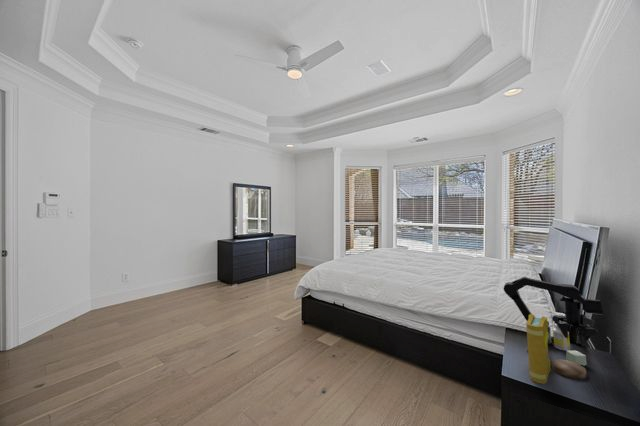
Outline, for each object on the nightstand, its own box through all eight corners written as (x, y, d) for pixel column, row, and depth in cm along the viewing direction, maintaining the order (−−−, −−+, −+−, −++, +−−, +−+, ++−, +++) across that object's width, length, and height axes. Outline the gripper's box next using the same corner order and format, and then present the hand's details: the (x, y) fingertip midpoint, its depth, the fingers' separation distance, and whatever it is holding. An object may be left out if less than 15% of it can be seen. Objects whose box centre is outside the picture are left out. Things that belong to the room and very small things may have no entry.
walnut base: (567, 379, 117) (566, 373, 118) (545, 364, 129) (544, 359, 130) (594, 378, 117) (594, 373, 117) (570, 364, 129) (569, 359, 129)
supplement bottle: (566, 346, 147) (564, 323, 147) (573, 351, 140) (571, 327, 141) (551, 344, 149) (549, 322, 149) (557, 350, 143) (556, 326, 143)
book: (532, 364, 130) (529, 314, 131) (550, 369, 125) (547, 317, 126) (527, 379, 118) (524, 324, 119) (547, 385, 113) (543, 328, 114)
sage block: (575, 366, 127) (575, 355, 128) (566, 360, 132) (566, 350, 133) (586, 365, 127) (585, 355, 127) (576, 360, 132) (576, 350, 132)
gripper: (609, 317, 121) (611, 351, 121) (571, 304, 140) (573, 333, 139) (584, 317, 122) (586, 351, 121) (550, 304, 140) (552, 334, 140)
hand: (574, 341), depth 130 cm, fingers open, 9 cm apart
